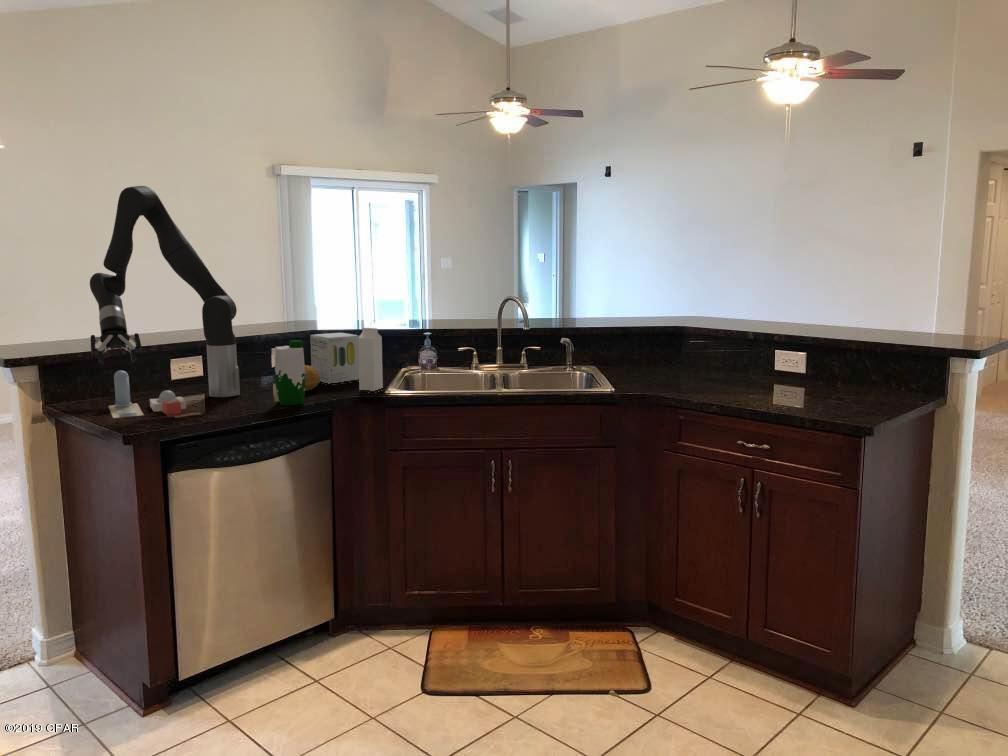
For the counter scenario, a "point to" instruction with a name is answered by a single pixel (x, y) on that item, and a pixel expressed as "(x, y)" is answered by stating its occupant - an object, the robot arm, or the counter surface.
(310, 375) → the potato
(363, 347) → the milk
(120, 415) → the track
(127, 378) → the pawn
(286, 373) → the milk carton
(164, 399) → the light blue rounded piece
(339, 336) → the supplement box
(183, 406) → the base
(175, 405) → the die
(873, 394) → the counter surface
